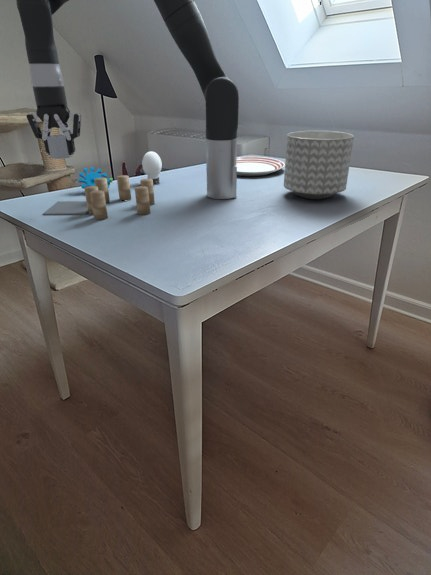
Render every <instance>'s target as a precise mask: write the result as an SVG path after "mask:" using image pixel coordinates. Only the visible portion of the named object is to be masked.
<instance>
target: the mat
mask: <svg viewBox="0 0 431 575" xmlns="http://www.w3.org/2000/svg"><path fill="white" fill-rule="evenodd" d="M87 214H89V213H88V207H87V201H86V200H82V201H81V200H76V201H75V200H74V201H73V200H71V201H70V200H65V201H64V200H62V201H61V200H60V201H57V202H55V203H54V204H53V205H51V206H50V207H48V209H46V210H45V211H44V212H42V215H43V216H51V215H52V216H63V215H64V216H71V215H73V216H76V215H78V216H79V215H80V216H81V215H85V216H86V215H87Z"/></svg>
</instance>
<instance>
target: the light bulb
mask: <svg viewBox="0 0 431 575" xmlns="http://www.w3.org/2000/svg"><path fill="white" fill-rule="evenodd" d="M162 163H163V162H162V159H161V157H160V155H159V154H158V153H157V152H155V151H150V150H149V151H148V152H146V153H145V154H144V155H143V157H142V161H141V164H142V165H141V166H142V169H143V170H142V171H143V172H144V173H145V174H146V175H147V178H146V179H152V180H153V186H155V185H159V184H160V177H159V174H161V171H162V167H163V165H162Z"/></svg>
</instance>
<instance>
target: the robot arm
mask: <svg viewBox="0 0 431 575" xmlns="http://www.w3.org/2000/svg"><path fill="white" fill-rule="evenodd" d="M15 1H16V7H17V8H16V9H17V11H18V14H19V17H20V21H21V22H20V23H21V26H22V30H23V34H24V42H25V44H24V45H25V51H26V56H27V61H28V65H29V66H28V67H29V76H30V82H31V85H32V91H33V95H34V100H35V101H34V102H35V105H36V112H34V113H29V114H26V119H27V121H28V124H29V126H30V128H31V130H32V132H33V135H34V137H35V139H41V140H42V141H43V144H44V149H45V152H46V154H48V156H50V151H49V146H48V142H47V136H49V135H52V130H53V128H58V129H60V130H61V132H62V134H64V135H65V136H66V138H67V146H68V151H69V155H74V153H75V152H76V146H75V139H76V138H78V137H80V136H81V124H82V114H81V113H79V112H77V113H75V112H71V110H70V109H69V108H68V101H67V95H66V90H65V83H64V78H63V74H62V70H61V66H60V61H59V55H58V49H57V46H56V41H55V36H54V24H53V15H54V14H55V13H56V12H57V11H58V10H59V9H60V8H61V7H62V6H63V5H64V4H65V3H67V2H69V1H70V0H15ZM153 1H154V5H156V7H157V10H158V11H159V14H160V16H161V18H162V21H163V22H164V24H165V26H166V28H167V30H168V33H169V34H170V36H171V38H172V39H173V41H174V43H175V44H176V46H177V48H178V49H179V51H180V53H181V54H182V55H183V57H184V58H185V60H186V62H187V63H188V64H189V66H190V68H191V70H192V71H193V73H194V75H195V77H196V80H197V82H198V85H199V87H200V89H201V92H202V96H203V98H204V101H205V157H206V160H205V161H206V196H207V198H210V199H214V200H228V199H229V200H230V199H233V198H234V199H236V198H237V186H238V184H237V183H238V182H237V181H238V180H237V176H238V175H237V166H236V157H238V156H237V155H238V154H237V151H238V150H237V147H238V145H237V144H238V143H237V139H238V128H239V108H240V107H239V98H240V97H239V89H238V87H237V85H236V84H235V82H234V81H232V80H231V79H229V77H228V76H227V74H226V73H225V71H224V69H223V67H222V66H221V64H220V62H219V60H218V58H217V56H216V53H215V51H214V48H213V45H212V41H211V39H210V36H209V32H208V29H207V26H206V24H205V22H204V19H203V16H202V14H201V12H200V10H199V8H198V5H197V3H196V2H195V0H153ZM69 118H71V122H73V124H72V130H71V127H70V125H69V123H68V120H69ZM39 119H40V120H41V122H42V129H41V126H40V125H39V123H38V122H39Z"/></svg>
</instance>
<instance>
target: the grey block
mask: <svg viewBox="0 0 431 575" xmlns="http://www.w3.org/2000/svg"><path fill="white" fill-rule="evenodd" d="M47 142H48V146H49V151H50V155H49V156H50V159H55V160H62V159H63V160H64V159H70V158H72V157H73V155H74V154H73V155H69V151H68V146H67V138H66V136H65V135H64V133H62V134H50V135H49V136H47Z"/></svg>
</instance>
